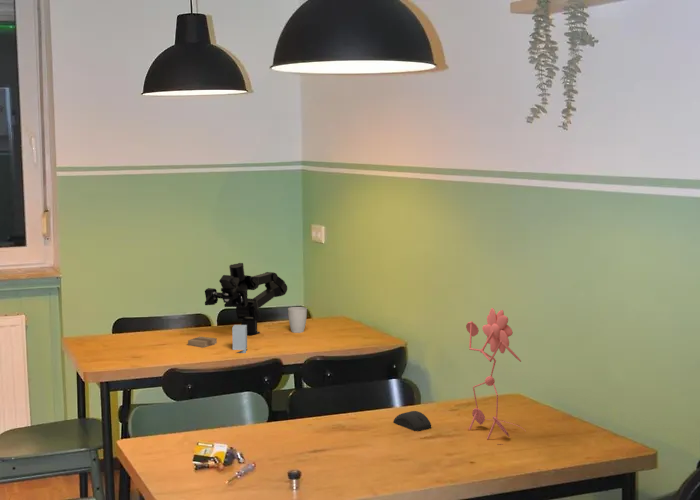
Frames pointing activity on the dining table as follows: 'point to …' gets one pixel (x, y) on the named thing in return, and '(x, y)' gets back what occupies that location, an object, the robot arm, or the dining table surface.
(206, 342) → the upper slab
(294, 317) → the cup
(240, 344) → the grey upright block
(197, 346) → the lower slab
